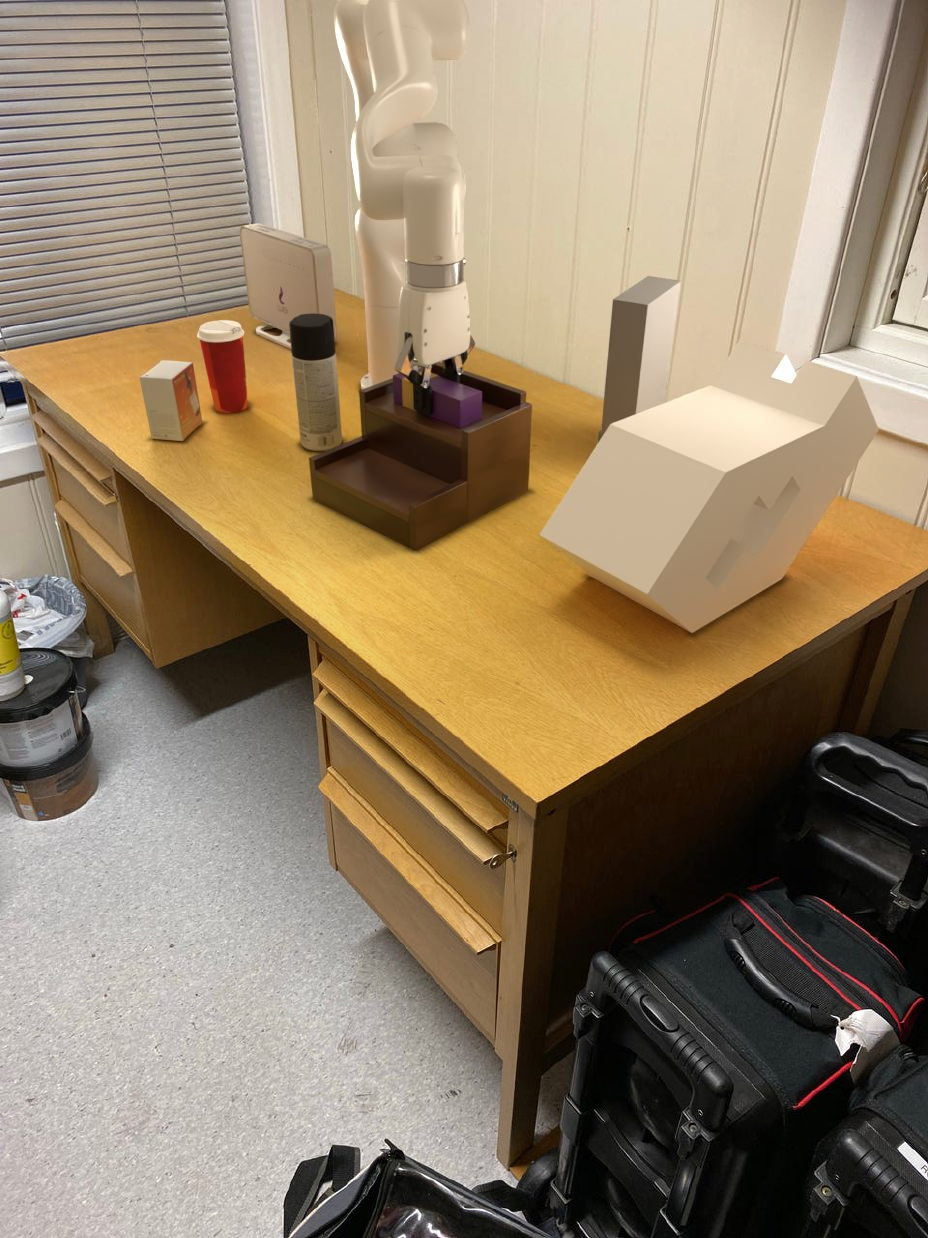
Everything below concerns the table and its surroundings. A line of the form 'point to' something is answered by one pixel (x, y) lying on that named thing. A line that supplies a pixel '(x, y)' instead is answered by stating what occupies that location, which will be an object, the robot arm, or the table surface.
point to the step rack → (427, 463)
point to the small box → (171, 400)
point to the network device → (285, 278)
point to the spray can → (316, 381)
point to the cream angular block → (715, 485)
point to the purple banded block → (443, 399)
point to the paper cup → (225, 364)
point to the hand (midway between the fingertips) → (436, 405)
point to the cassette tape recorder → (639, 348)
